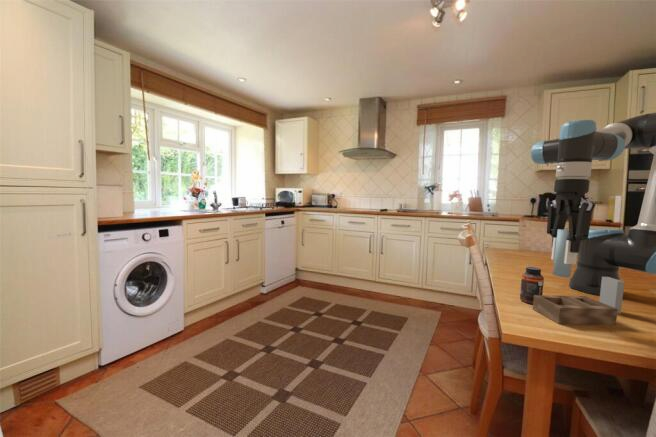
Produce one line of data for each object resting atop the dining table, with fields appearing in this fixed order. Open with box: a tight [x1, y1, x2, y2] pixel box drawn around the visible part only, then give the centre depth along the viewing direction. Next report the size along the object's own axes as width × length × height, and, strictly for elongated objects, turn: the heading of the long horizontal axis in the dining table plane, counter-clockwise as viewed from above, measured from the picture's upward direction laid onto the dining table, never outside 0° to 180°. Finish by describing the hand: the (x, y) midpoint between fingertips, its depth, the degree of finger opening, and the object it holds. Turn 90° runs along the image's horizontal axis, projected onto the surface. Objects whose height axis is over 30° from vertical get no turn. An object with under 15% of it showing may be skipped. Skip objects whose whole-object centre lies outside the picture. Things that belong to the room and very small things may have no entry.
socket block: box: [532, 294, 618, 326], centre depth 86 cm, size 16×10×4 cm, turn 91°
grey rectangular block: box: [598, 277, 625, 315], centre depth 91 cm, size 2×5×10 cm, turn 1°
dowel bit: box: [552, 228, 573, 278], centre depth 84 cm, size 4×4×13 cm
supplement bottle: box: [519, 266, 545, 305], centre depth 97 cm, size 6×6×11 cm
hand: (563, 261), depth 85 cm, fingers closed on dowel bit, 4 cm apart
